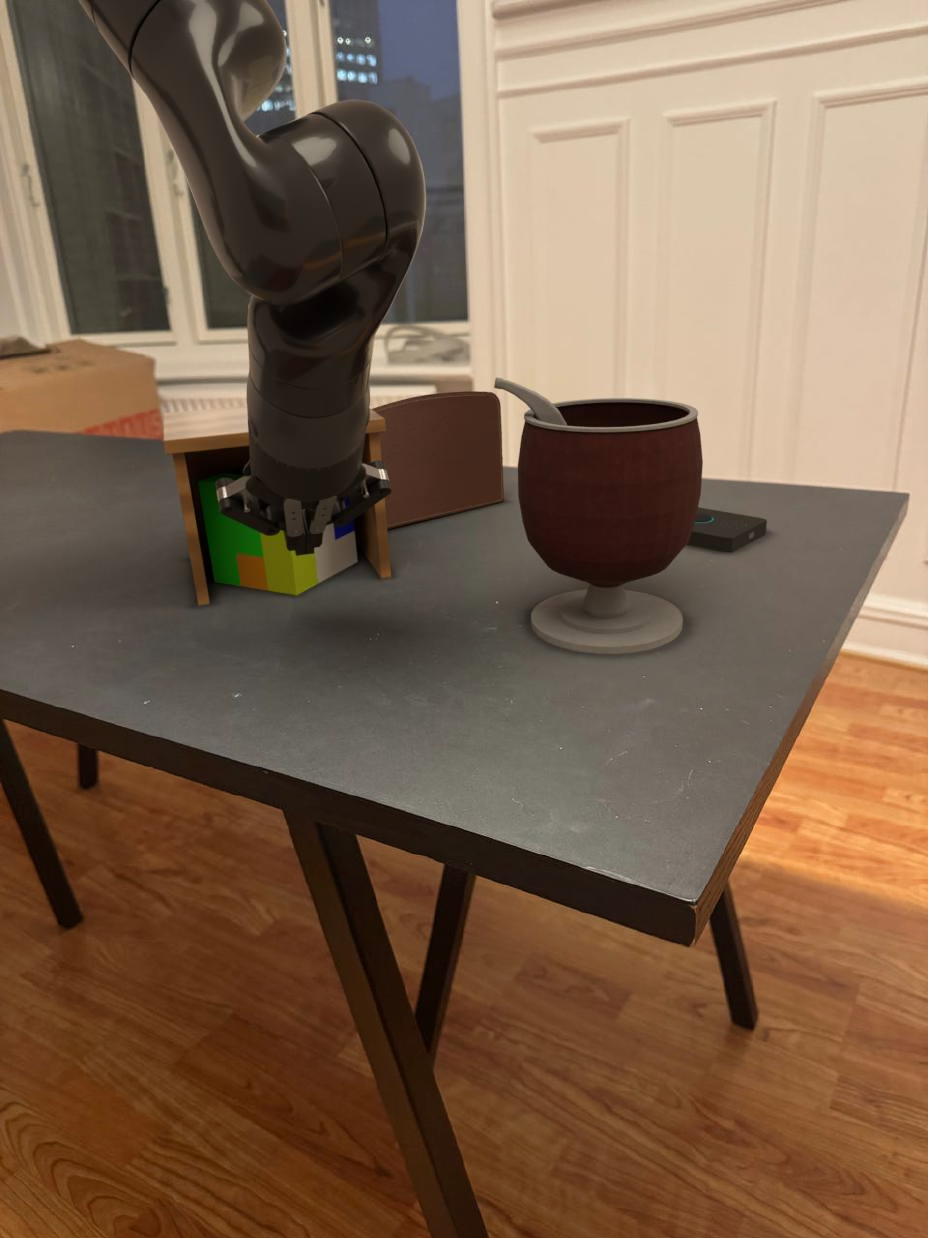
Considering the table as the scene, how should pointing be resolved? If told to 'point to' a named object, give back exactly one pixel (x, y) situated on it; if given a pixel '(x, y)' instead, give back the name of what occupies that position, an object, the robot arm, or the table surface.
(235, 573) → the puzzle toy
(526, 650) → the table surface
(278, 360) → the robot arm
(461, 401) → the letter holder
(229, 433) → the shelf
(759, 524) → the smart home device
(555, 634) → the mate gourd
